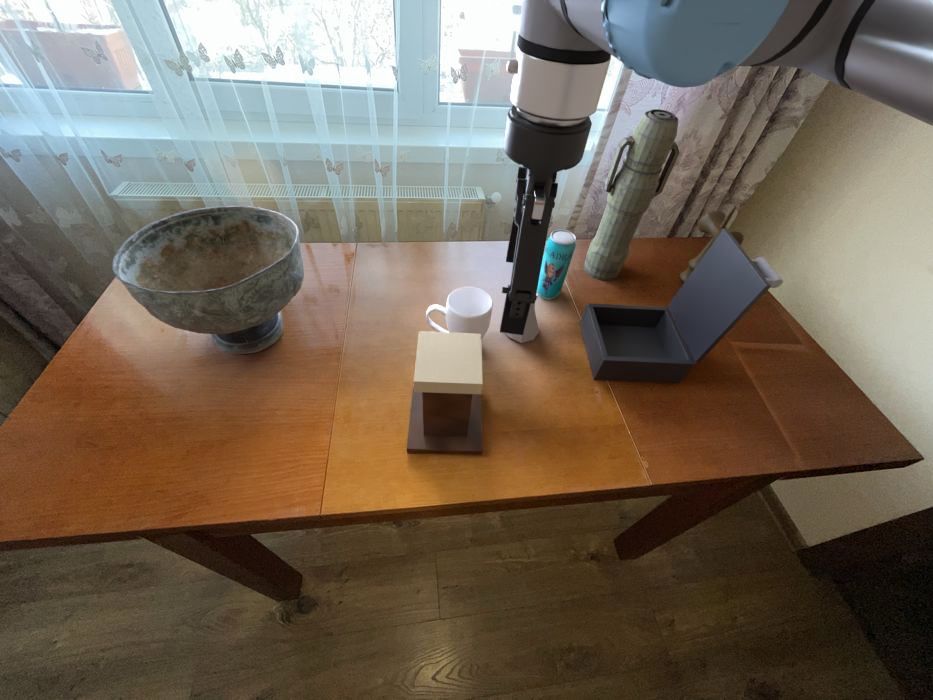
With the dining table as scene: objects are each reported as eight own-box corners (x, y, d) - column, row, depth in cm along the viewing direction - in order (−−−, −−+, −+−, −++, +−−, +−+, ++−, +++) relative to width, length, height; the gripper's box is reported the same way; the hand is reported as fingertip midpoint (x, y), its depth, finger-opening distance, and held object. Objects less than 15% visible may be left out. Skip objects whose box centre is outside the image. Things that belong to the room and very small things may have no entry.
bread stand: (480, 393, 72) (489, 337, 61) (481, 455, 64) (492, 404, 53) (413, 391, 72) (410, 334, 60) (406, 453, 64) (401, 401, 52)
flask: (520, 313, 87) (529, 276, 79) (545, 332, 83) (556, 296, 76) (496, 327, 83) (502, 291, 76) (520, 348, 80) (530, 312, 72)
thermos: (630, 280, 97) (704, 124, 70) (583, 281, 95) (642, 122, 69) (617, 258, 103) (682, 106, 76) (573, 258, 101) (623, 104, 75)
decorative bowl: (150, 388, 68) (78, 297, 53) (188, 291, 84) (141, 201, 70) (314, 373, 73) (290, 288, 59) (320, 285, 90) (302, 201, 75)
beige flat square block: (479, 344, 60) (481, 333, 58) (481, 394, 54) (482, 384, 52) (419, 342, 59) (418, 330, 58) (414, 392, 54) (413, 381, 52)
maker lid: (766, 285, 58) (809, 291, 59) (723, 228, 68) (761, 234, 69) (695, 362, 72) (731, 366, 73) (667, 305, 82) (699, 309, 83)
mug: (484, 328, 83) (491, 286, 74) (488, 359, 78) (495, 317, 69) (426, 328, 82) (426, 284, 73) (426, 359, 77) (425, 316, 68)
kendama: (684, 293, 95) (731, 217, 80) (670, 267, 101) (712, 193, 86) (708, 294, 95) (760, 219, 80) (693, 269, 102) (739, 194, 86)
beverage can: (532, 297, 90) (546, 240, 79) (537, 282, 94) (551, 225, 83) (557, 304, 89) (575, 247, 78) (561, 288, 93) (579, 232, 82)
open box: (593, 380, 76) (603, 360, 71) (579, 323, 86) (587, 303, 81) (680, 383, 77) (696, 364, 72) (656, 327, 87) (668, 307, 82)
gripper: (514, 65, 43) (491, 235, 60) (500, 168, 27) (474, 364, 43) (583, 73, 43) (542, 241, 59) (610, 182, 27) (543, 373, 43)
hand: (513, 293), depth 51 cm, fingers open, 13 cm apart
